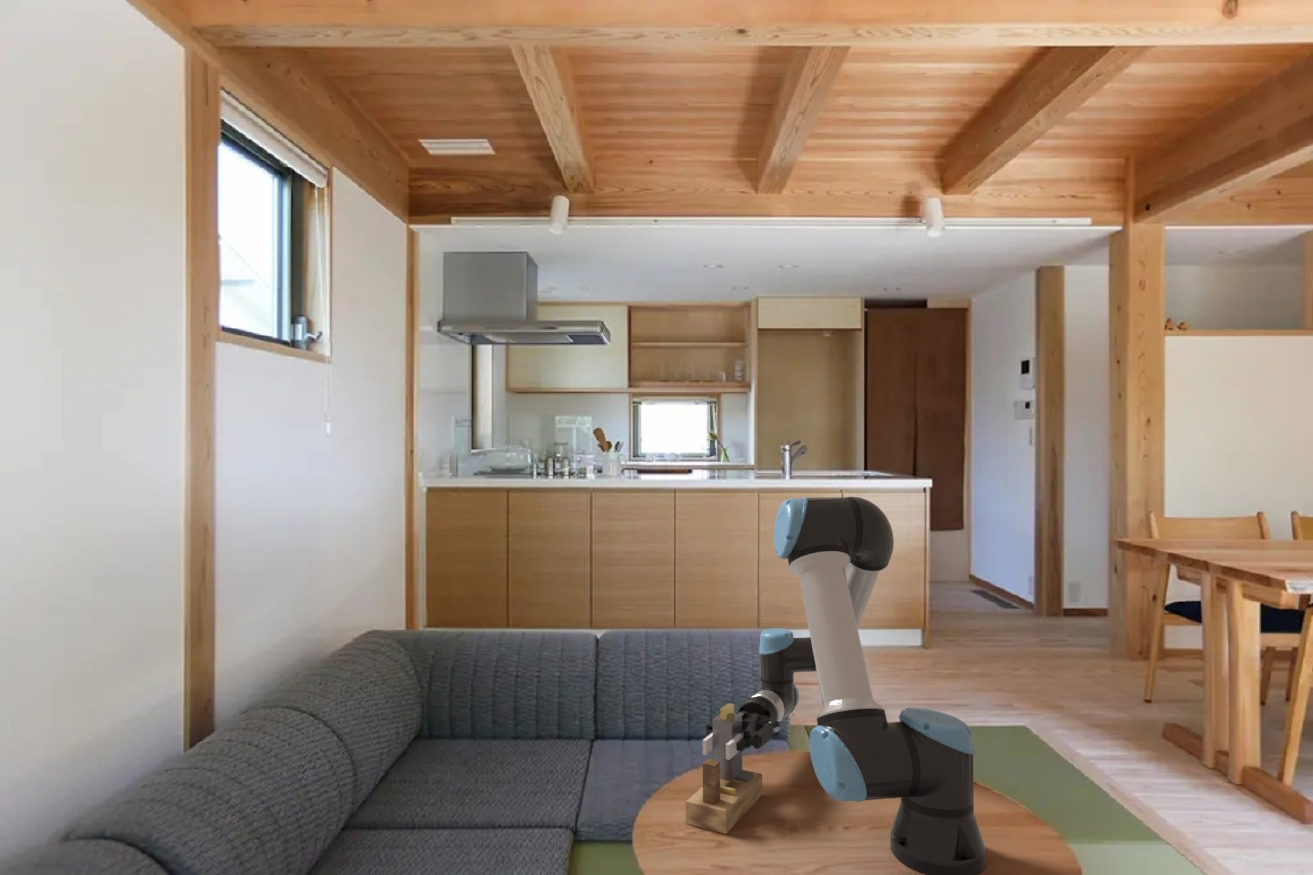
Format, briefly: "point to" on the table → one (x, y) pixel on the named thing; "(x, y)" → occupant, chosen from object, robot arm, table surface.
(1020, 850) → the table surface
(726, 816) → the body
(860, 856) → the table surface
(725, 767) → the grey metal pillar
